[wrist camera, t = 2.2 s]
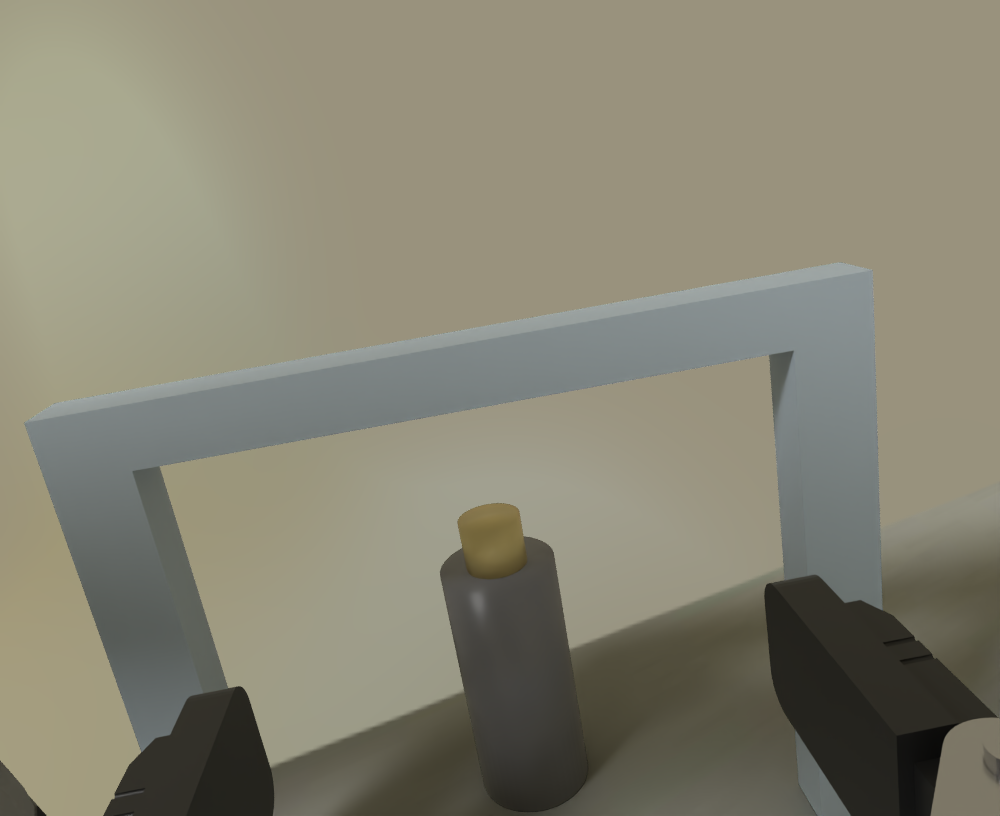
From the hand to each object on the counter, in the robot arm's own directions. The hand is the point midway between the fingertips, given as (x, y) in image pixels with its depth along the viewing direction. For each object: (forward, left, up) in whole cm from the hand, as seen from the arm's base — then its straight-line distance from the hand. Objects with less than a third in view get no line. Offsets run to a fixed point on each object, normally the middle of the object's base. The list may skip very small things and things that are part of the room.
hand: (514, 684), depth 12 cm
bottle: (0, +18, -17) cm, 25 cm away
